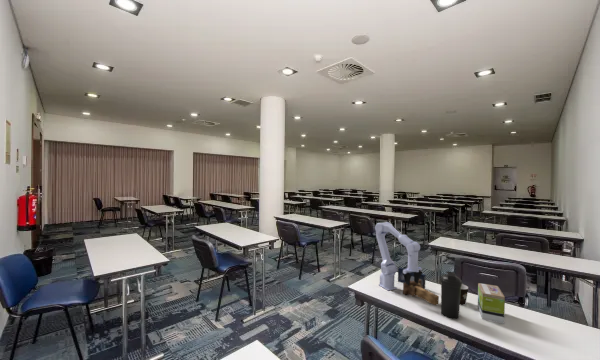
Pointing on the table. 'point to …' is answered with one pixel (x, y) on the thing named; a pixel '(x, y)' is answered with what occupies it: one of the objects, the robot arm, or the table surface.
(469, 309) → the table surface
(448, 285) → the water bottle
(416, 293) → the rail
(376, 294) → the table surface
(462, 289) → the coffee mug
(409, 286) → the headboard
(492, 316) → the tea box
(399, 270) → the vhs cassette tape
